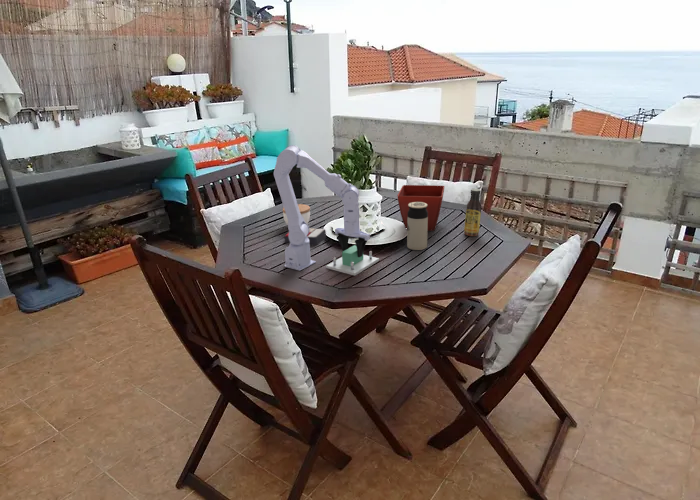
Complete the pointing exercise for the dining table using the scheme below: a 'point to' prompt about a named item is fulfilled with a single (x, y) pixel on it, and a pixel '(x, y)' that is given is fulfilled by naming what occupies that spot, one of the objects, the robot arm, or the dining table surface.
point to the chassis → (353, 268)
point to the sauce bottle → (473, 214)
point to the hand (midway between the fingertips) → (352, 254)
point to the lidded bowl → (303, 210)
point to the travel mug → (417, 226)
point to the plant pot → (421, 194)
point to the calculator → (312, 236)
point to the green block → (351, 256)
